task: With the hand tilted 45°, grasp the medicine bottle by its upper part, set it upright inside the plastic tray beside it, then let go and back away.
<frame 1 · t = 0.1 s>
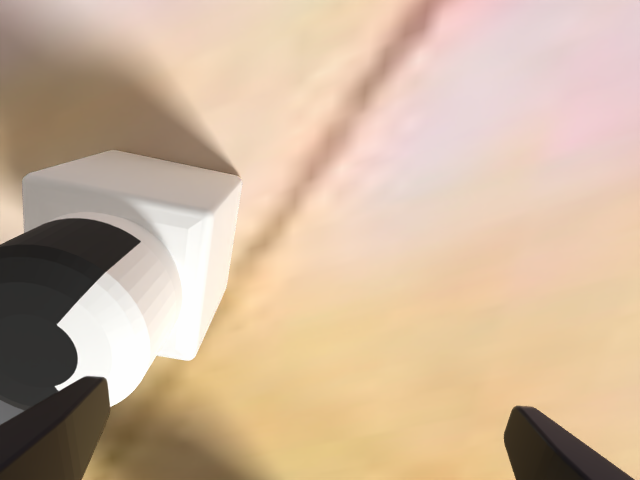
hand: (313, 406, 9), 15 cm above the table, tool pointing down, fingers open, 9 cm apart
medicine bottle: (173, 222, 23), on the table
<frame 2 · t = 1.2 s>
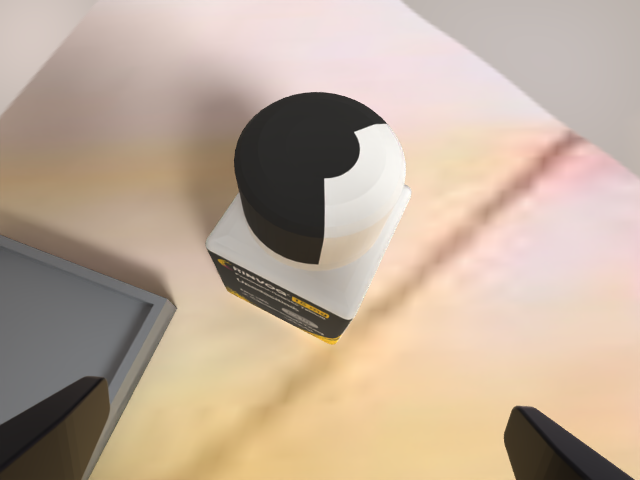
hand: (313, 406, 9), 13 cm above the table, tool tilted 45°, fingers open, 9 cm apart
tray: (15, 374, 21), on the table
medicine bottle: (306, 268, 25), on the table
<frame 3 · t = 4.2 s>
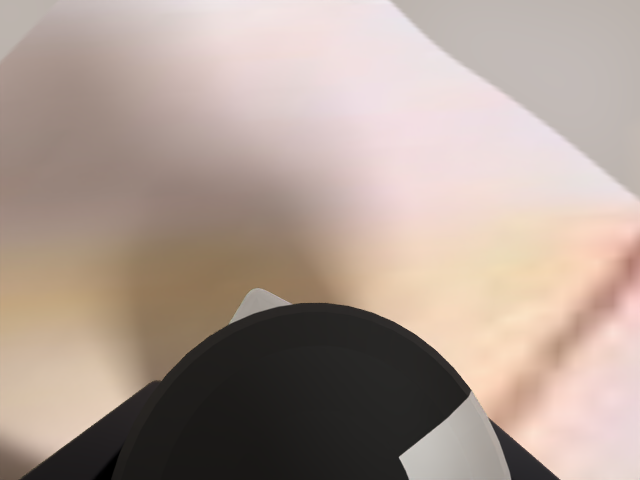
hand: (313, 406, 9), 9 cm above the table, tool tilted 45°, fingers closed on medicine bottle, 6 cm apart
medicine bottle: (297, 450, 16), on the table, touching gripper
when the fingers open (10 cm above the table, at t = 8.5 s): medicine bottle stays where it is, resting on tray.
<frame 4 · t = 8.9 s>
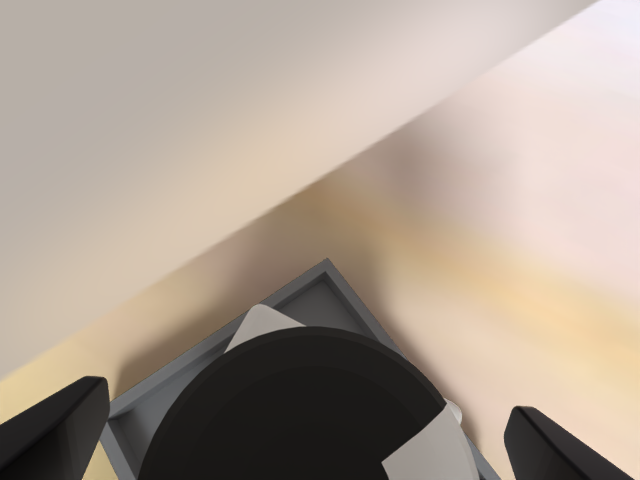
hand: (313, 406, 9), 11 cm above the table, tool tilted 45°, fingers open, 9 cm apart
tray: (296, 448, 18), on the table
medicine bottle: (296, 453, 17), point 1 cm above the table, touching tray
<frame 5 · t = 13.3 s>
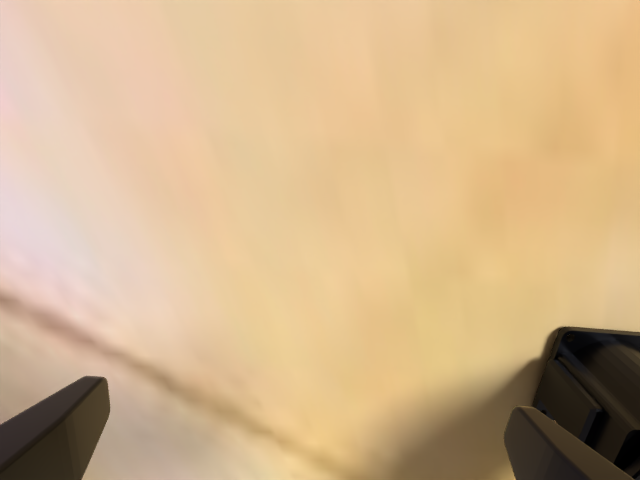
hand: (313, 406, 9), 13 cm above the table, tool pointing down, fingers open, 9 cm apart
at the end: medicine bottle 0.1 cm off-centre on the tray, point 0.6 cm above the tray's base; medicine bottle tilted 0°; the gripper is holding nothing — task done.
